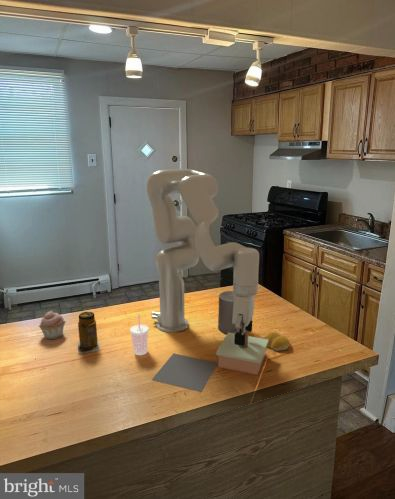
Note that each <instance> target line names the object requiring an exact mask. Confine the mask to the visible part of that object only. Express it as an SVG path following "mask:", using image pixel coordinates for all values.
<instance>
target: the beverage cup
mask: <svg viewBox="0 0 395 499" xmlns="http://www.w3.org/2000/svg"><path fill="white" fill-rule="evenodd" d="M137 321H138V322H137V323H138V324H135V325H133V326H131V327H130V329H129V332H130V334H131V335H130V336H131V342H132V343H131V344H132V349H133V350H132V351H133V354H134V355H136V356H143V355H146V354H147V353H148V335H149V334H148V333H149V326H148V325H146V324H141V318H140V314H138V315H137Z"/></svg>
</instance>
